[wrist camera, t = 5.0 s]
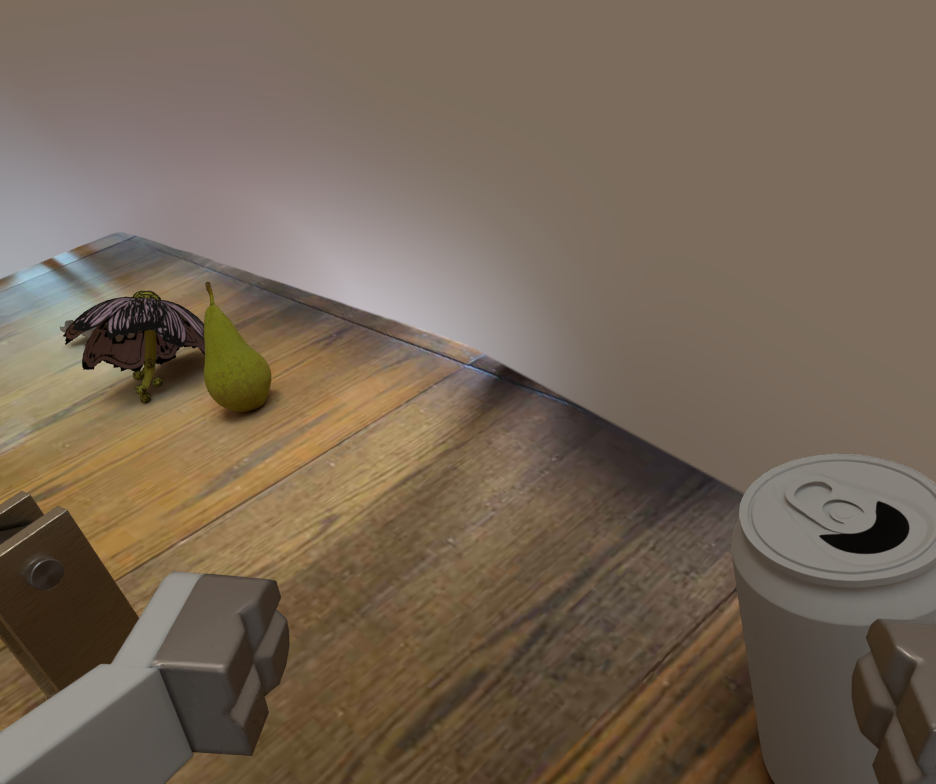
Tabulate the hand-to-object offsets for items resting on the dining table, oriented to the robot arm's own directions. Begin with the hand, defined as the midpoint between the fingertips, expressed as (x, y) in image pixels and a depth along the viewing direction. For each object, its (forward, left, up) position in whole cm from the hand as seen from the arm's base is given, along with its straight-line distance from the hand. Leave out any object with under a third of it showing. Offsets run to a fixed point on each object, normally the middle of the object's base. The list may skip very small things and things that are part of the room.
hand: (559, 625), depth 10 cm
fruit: (+27, +53, -20) cm, 63 cm away
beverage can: (+13, -1, -20) cm, 24 cm away
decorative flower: (+29, +72, -20) cm, 79 cm away
